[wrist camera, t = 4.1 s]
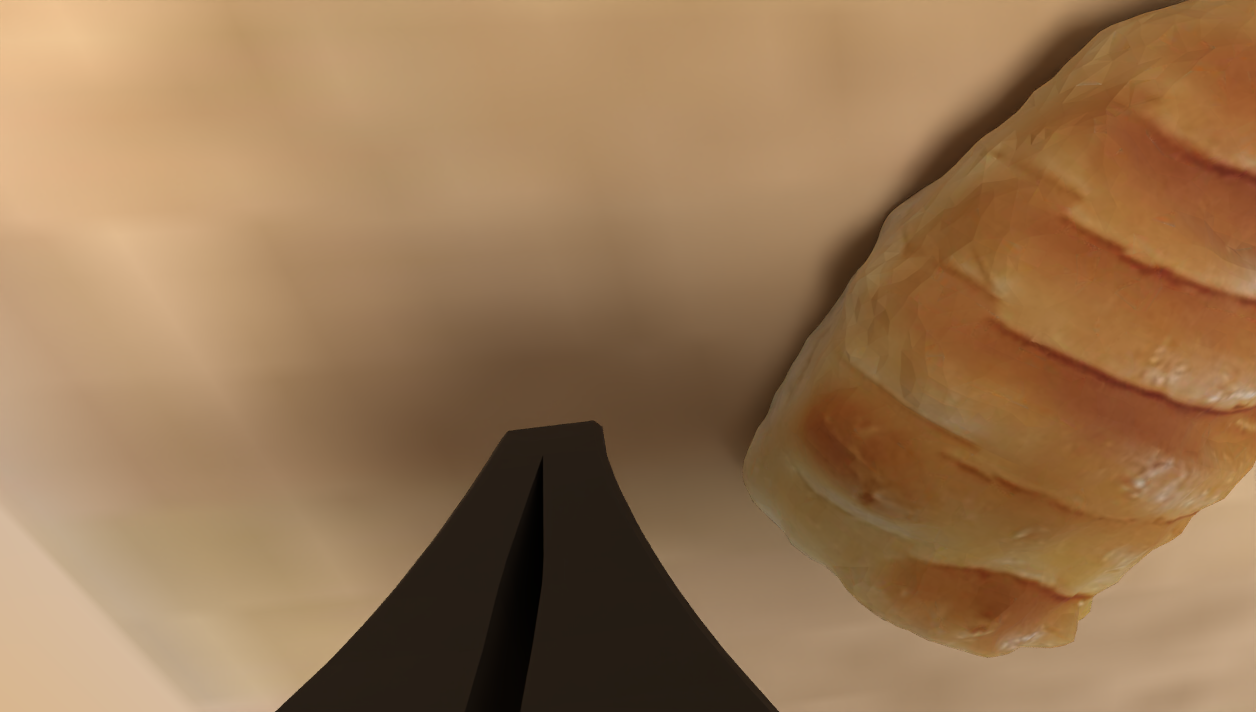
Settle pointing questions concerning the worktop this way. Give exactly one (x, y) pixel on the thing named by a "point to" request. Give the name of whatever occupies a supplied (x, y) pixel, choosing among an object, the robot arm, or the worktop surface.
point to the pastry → (1039, 349)
